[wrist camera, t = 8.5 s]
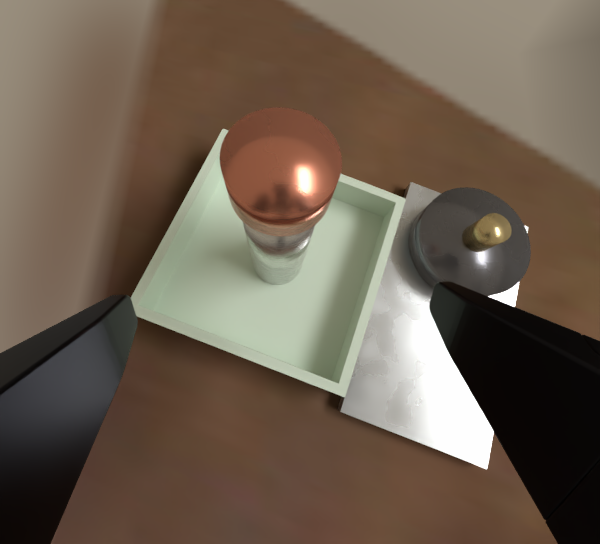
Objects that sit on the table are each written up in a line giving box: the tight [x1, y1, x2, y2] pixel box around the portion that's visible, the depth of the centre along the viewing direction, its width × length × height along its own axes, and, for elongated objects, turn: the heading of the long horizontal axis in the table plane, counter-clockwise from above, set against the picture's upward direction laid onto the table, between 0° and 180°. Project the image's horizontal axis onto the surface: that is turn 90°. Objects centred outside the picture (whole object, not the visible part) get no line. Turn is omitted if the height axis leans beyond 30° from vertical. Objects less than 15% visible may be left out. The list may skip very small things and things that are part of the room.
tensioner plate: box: [337, 182, 531, 469], centre depth 20 cm, size 18×10×5 cm, turn 159°
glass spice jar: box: [220, 107, 342, 285], centre depth 16 cm, size 4×4×12 cm
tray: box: [131, 129, 406, 397], centre depth 21 cm, size 14×14×3 cm
